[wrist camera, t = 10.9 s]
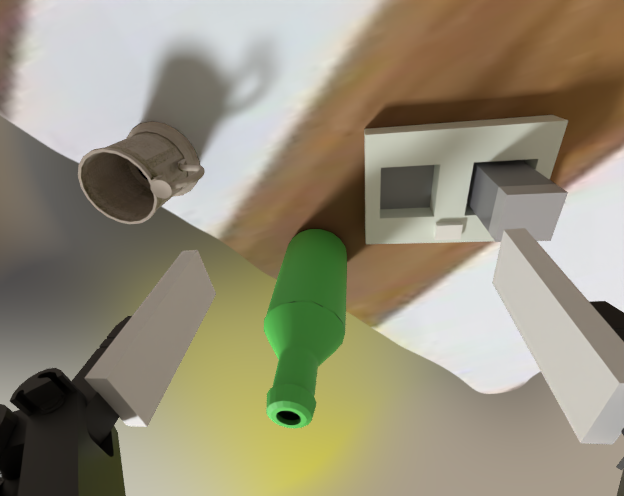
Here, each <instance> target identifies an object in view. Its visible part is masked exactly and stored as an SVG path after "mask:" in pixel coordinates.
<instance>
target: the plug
mask: <svg viewBox="0 0 624 496" xmlns="http://www.w3.org/2000/svg"><path fill="white" fill-rule="evenodd" d="M567 193H568V192H566V191H565V190H564V189H562V188H561V187H559V186H558V185H556V184H555V183H554V182H552V181H551V180H549V179H548V178H546V177H545V176H543V175H542V174H541V173H539V172H538V171H536V170H535V169H533V168H532V167H531V166H529V165H528V164H526V163H525V162H523V161H522V160H509V161H491V162H474V165H473V170H472V176H471V181H470V187H469V193H468V198H467V203H468V204H469V206H470V207H471V208H472V210H473V211H474V213H475V214H476V215H477V217H478V218H479V220H480V221H481V222H482V224H483V225H484V227H485V228H486V229H487V231H488V232H489V234H490V235H491V236H492V238H493V239H494V240H495V242H501V240H502V236H503V231H504V230H505V229H520V228H525V229H526V230H527V231H528V232H529V233H530V234H531V235H532V237H533V238H534V239H535V240H536V241H551V238H552V235H553V232H554V230H555V227H556V224H557V221H558V218H559V216H560V213H561V210H562V207H563V204H564V202H565V199H566V196H567Z"/></svg>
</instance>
